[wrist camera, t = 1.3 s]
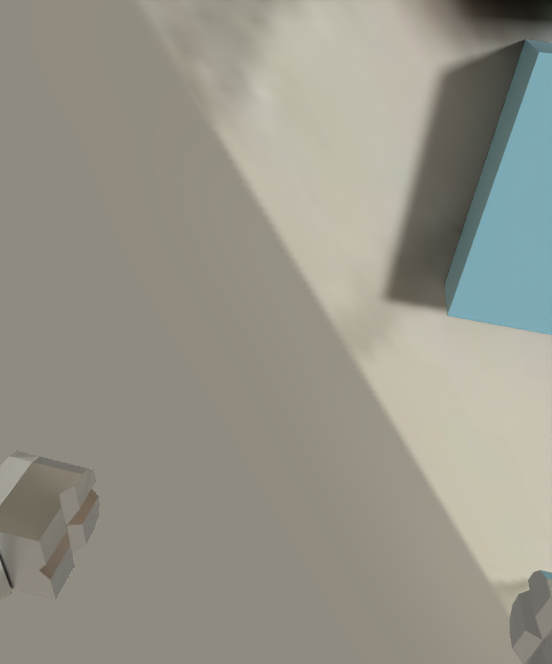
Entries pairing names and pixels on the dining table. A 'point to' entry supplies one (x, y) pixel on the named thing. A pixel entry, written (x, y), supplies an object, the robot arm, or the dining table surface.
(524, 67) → the light blue flat block
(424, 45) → the dining table surface
